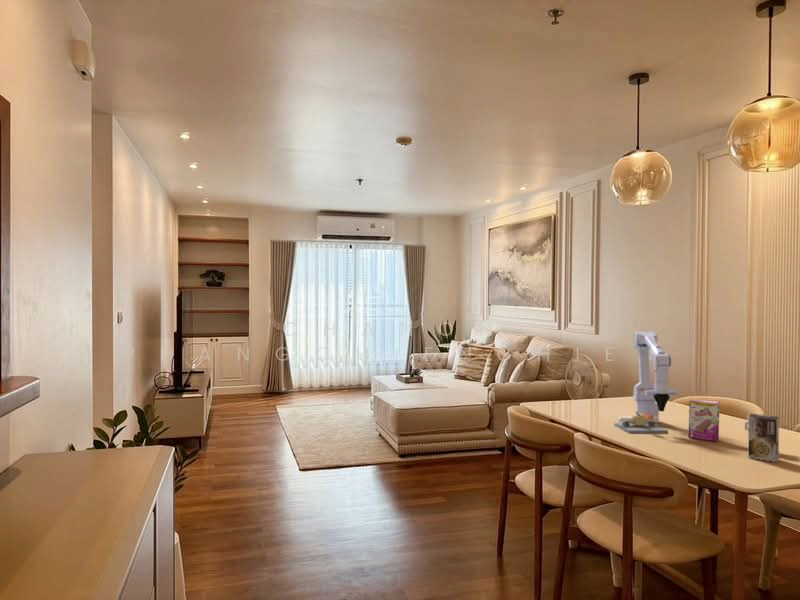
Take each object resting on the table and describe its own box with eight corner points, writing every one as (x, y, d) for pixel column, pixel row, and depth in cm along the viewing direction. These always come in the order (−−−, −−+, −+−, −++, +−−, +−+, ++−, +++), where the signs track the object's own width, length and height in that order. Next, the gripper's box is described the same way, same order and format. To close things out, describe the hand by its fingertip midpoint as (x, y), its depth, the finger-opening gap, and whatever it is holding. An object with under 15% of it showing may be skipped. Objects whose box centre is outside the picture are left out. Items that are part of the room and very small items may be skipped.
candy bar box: (688, 438, 228) (688, 400, 227) (689, 435, 232) (690, 398, 232) (718, 442, 221) (719, 403, 221) (719, 440, 225) (719, 401, 225)
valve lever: (634, 413, 245) (634, 409, 245) (639, 413, 246) (639, 409, 246) (648, 419, 233) (648, 415, 233) (653, 419, 234) (653, 415, 234)
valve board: (651, 425, 250) (651, 412, 250) (668, 433, 236) (668, 418, 236) (614, 425, 249) (614, 412, 249) (629, 433, 235) (629, 418, 235)
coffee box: (779, 459, 198) (779, 416, 198) (776, 463, 193) (777, 419, 193) (750, 454, 204) (751, 413, 204) (747, 458, 199) (748, 415, 199)
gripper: (650, 382, 232) (650, 412, 232) (682, 382, 233) (682, 412, 233) (642, 379, 239) (642, 409, 239) (673, 379, 240) (672, 409, 240)
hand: (661, 410), depth 237 cm, fingers closed
